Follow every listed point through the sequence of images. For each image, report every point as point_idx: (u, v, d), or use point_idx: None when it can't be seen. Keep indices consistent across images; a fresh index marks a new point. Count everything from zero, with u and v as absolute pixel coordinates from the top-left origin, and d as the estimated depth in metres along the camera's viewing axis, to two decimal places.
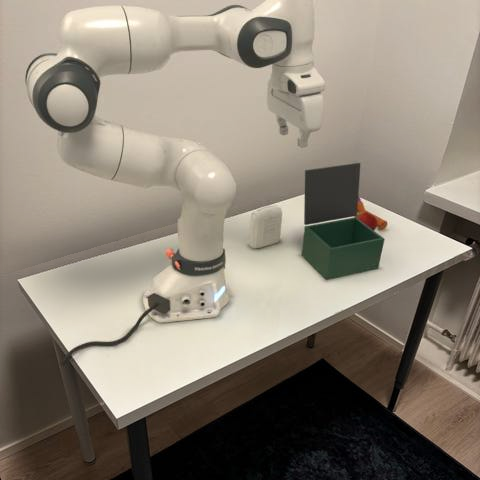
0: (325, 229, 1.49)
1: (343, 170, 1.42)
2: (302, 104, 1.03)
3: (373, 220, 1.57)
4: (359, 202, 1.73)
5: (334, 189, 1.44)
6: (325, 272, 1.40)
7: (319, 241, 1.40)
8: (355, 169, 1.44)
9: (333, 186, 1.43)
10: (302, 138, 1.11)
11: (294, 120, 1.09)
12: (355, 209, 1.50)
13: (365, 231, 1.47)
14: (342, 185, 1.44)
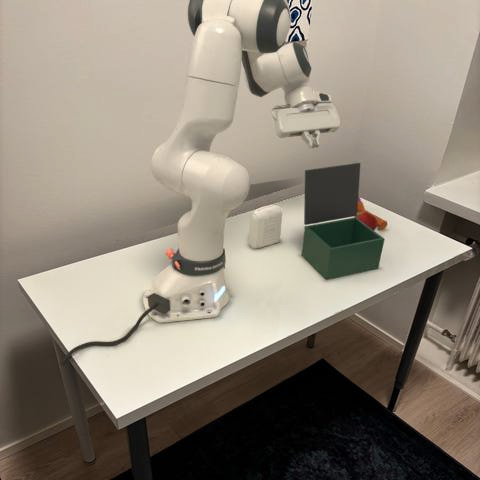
0: (325, 229, 1.49)
1: (343, 170, 1.42)
2: (334, 106, 1.50)
3: (373, 220, 1.57)
4: (359, 202, 1.73)
5: (334, 189, 1.44)
6: (325, 272, 1.40)
7: (319, 241, 1.40)
8: (355, 169, 1.44)
9: (333, 186, 1.43)
10: None
11: (324, 123, 1.48)
12: (355, 209, 1.50)
13: (365, 231, 1.47)
14: (342, 185, 1.44)
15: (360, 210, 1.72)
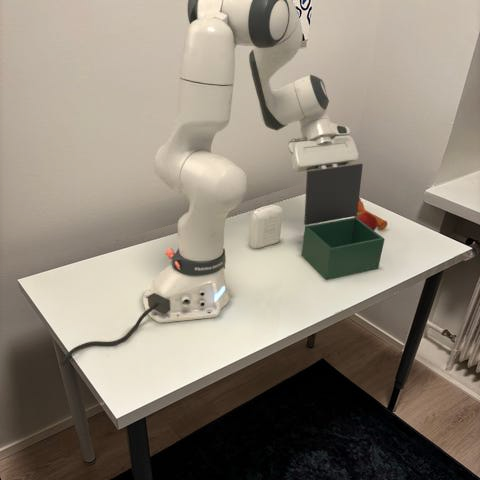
0: (325, 229, 1.49)
1: (345, 171, 1.42)
2: (352, 139, 1.45)
3: (373, 220, 1.57)
4: (359, 202, 1.73)
5: (335, 190, 1.43)
6: (325, 272, 1.40)
7: (319, 241, 1.40)
8: (357, 170, 1.43)
9: (334, 187, 1.43)
10: None
11: (341, 156, 1.43)
12: (355, 209, 1.49)
13: (365, 231, 1.47)
14: (343, 186, 1.44)
15: (360, 210, 1.72)
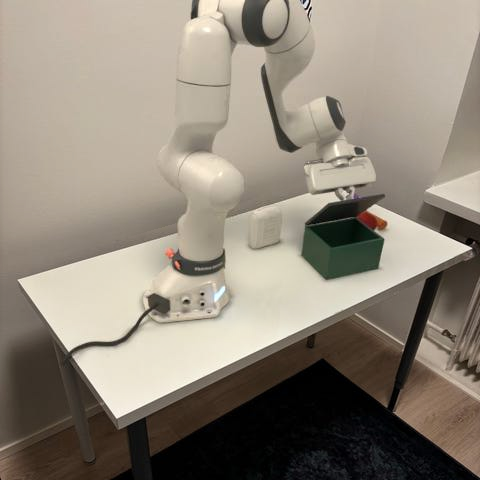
0: (325, 229, 1.49)
1: (365, 201, 1.36)
2: (369, 160, 1.40)
3: (373, 220, 1.57)
4: None
5: (347, 209, 1.40)
6: (325, 272, 1.40)
7: (319, 241, 1.40)
8: (377, 199, 1.38)
9: (348, 208, 1.39)
10: None
11: (359, 179, 1.38)
12: (358, 214, 1.49)
13: (365, 231, 1.47)
14: (357, 207, 1.40)
15: None
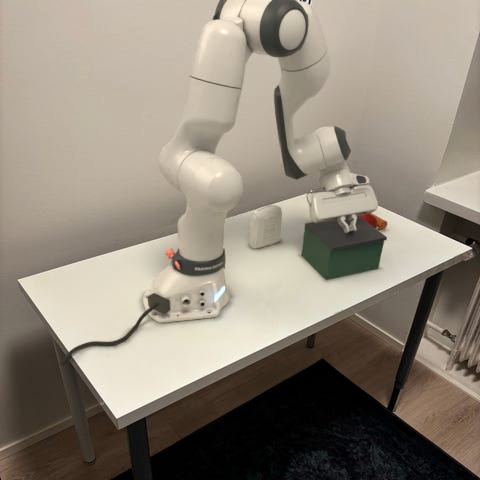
0: None
1: None
2: (371, 188, 1.42)
3: (373, 220, 1.57)
4: None
5: None
6: (325, 272, 1.40)
7: (319, 241, 1.40)
8: None
9: None
10: None
11: (361, 207, 1.40)
12: None
13: None
14: None
15: None
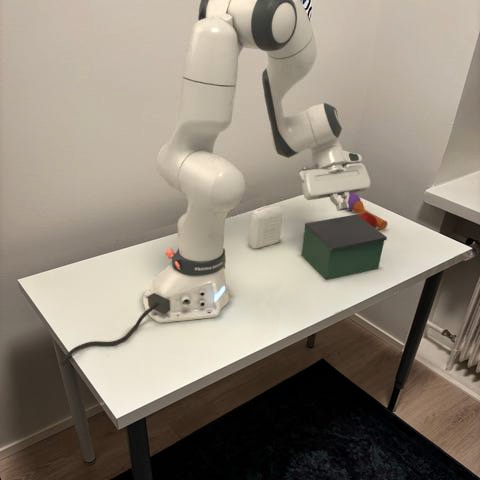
0: None
1: None
2: (364, 166, 1.43)
3: (373, 220, 1.57)
4: (359, 202, 1.73)
5: None
6: (325, 272, 1.40)
7: (319, 241, 1.40)
8: None
9: None
10: None
11: (353, 184, 1.41)
12: None
13: None
14: None
15: (360, 210, 1.72)
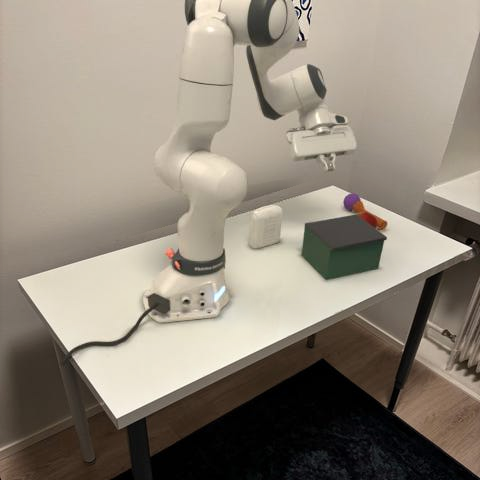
0: None
1: None
2: (350, 128, 1.45)
3: (373, 220, 1.57)
4: (359, 202, 1.73)
5: None
6: (325, 272, 1.40)
7: (319, 241, 1.40)
8: None
9: None
10: None
11: (340, 146, 1.43)
12: None
13: None
14: None
15: (360, 210, 1.72)
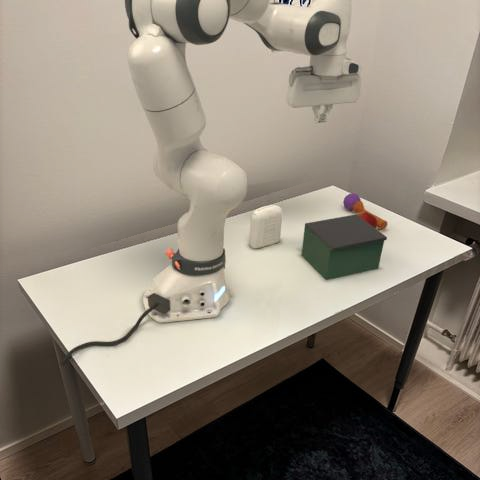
0: None
1: None
2: (359, 79, 1.30)
3: (373, 220, 1.57)
4: (359, 202, 1.73)
5: None
6: (325, 272, 1.40)
7: (319, 241, 1.40)
8: None
9: None
10: None
11: (341, 98, 1.31)
12: None
13: None
14: None
15: (360, 210, 1.72)
